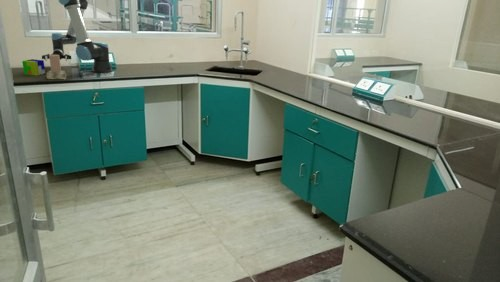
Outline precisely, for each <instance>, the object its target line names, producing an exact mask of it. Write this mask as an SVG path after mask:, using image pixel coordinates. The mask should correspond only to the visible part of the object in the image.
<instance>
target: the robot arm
mask: <svg viewBox="0 0 500 282" xmlns="http://www.w3.org/2000/svg"><path fill="white" fill-rule="evenodd" d="M58 2H59V3H60V4H61V5H62V6H64V9H65V10H67V13H68V17H69V19H70V21H69V25H68V28H67V31H66V34H64V35H63V34H62V33H61V32H52V33H51V41H52V49H53V50H52V51H53V52H52V54H50V53H47V54H43V55H41V60H44V62H47V61H48V60H50V58H49V56H50V55H59V57H60V61H61V60H63V59H64V60H65V61H66V62H67V61H68V60H72V55H69V54H67V53H65V51H64V46H65V45H75V44H76V48H75V54H76V56H77V57H78V58H79V60H81V61H91V60H92V61H93V64H92V72H93V73H110V72H113V68H112V65H111V62H110V55H109V54H110V52H109V45H108V43H106V42H99V41H98V42H97V41H92V40H91V39H90V38H89V34H88V30H87V28H86V24H85V22H84V19H83V16H84V14H85V10H87V9H88V5H89V0H58Z"/></svg>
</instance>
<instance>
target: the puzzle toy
mask: <svg viewBox="0 0 500 282" xmlns="http://www.w3.org/2000/svg"><path fill="white" fill-rule="evenodd" d="M21 62H22V69H23V74H24V75H28V76H35V75H36V76H39V75H40V74H41V75H44V73H45V74H46V69H45V67H46V66H45V59H27V60H26V59H25V60H22V61H21ZM41 75H40V76H41Z"/></svg>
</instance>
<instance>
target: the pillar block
mask: <svg viewBox="0 0 500 282" xmlns="http://www.w3.org/2000/svg"><path fill="white" fill-rule="evenodd" d="M49 58H50V59H49V64H50V71H51V73H57V72H61V71H62V68H61V67H62V66H61V60H60V57H59V55H51V54H50V56H49Z"/></svg>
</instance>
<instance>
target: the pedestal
mask: <svg viewBox="0 0 500 282" xmlns="http://www.w3.org/2000/svg"><path fill="white" fill-rule="evenodd" d="M45 74H46V80H47V79H64V80H67V70H61V72H57V73H51V70H47V72H46V73H45Z"/></svg>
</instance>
